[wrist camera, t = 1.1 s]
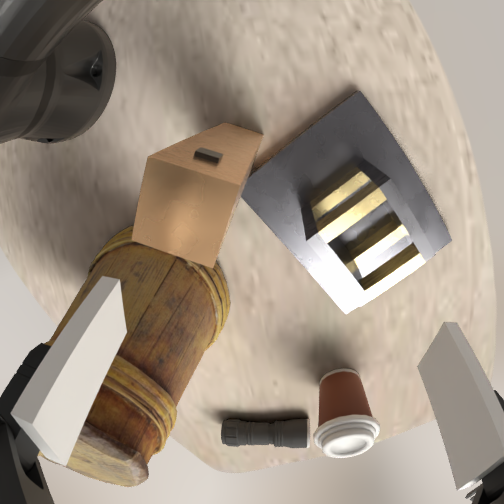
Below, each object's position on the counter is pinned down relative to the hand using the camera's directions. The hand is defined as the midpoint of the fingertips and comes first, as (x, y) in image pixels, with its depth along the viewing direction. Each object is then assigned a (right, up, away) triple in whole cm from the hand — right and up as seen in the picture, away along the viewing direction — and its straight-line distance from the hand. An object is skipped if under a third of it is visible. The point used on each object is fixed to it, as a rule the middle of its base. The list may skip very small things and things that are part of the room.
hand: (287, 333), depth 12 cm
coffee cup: (+12, -17, +33) cm, 39 cm away
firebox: (+10, +7, +21) cm, 24 cm away
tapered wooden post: (-3, +14, +19) cm, 24 cm away
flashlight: (+2, -27, +40) cm, 48 cm away
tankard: (-15, -3, +29) cm, 33 cm away
